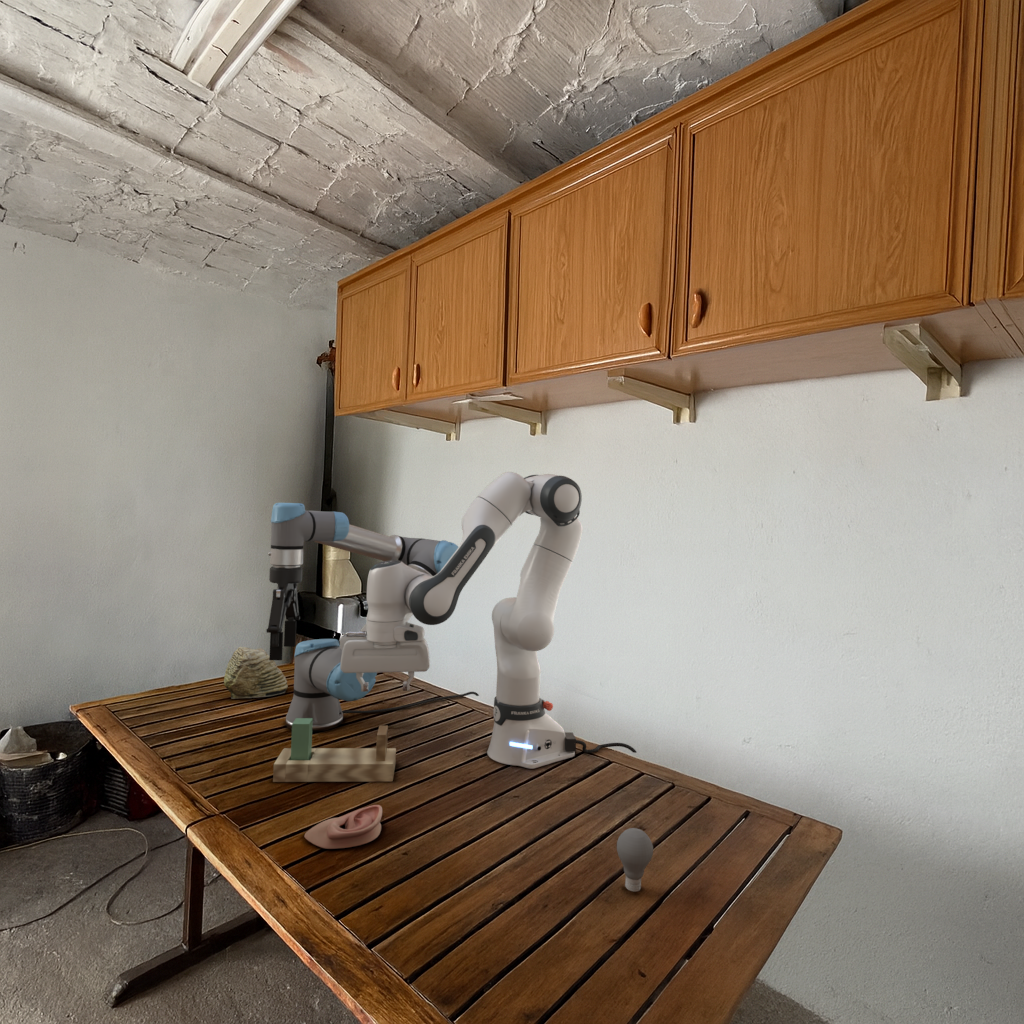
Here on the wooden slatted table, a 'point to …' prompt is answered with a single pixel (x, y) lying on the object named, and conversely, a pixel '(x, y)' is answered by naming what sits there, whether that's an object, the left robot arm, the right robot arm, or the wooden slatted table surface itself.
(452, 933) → the wooden slatted table surface
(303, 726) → the peg
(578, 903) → the wooden slatted table surface
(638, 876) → the light bulb
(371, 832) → the anatomical model
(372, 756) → the peg board
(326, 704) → the left robot arm
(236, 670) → the fossil
